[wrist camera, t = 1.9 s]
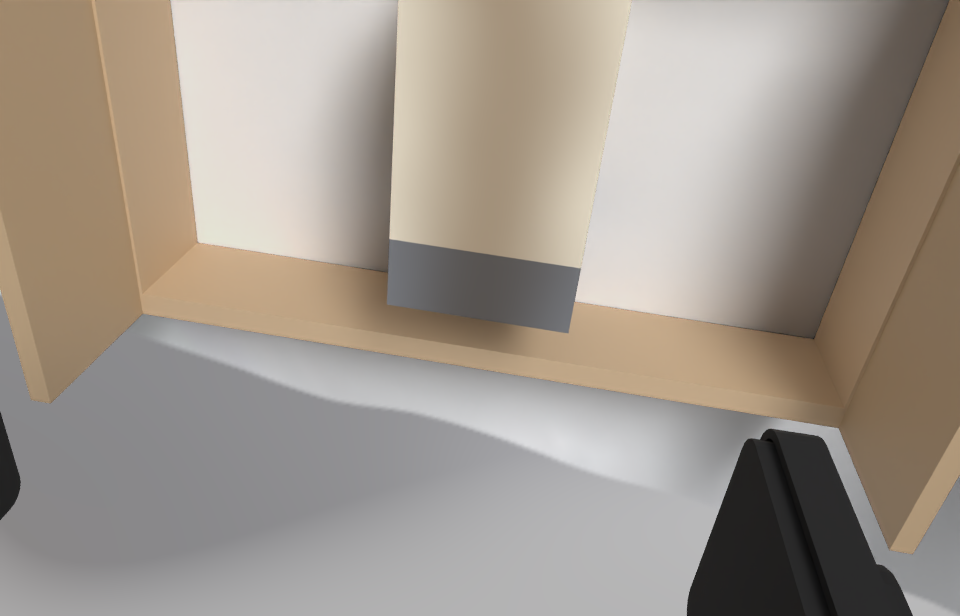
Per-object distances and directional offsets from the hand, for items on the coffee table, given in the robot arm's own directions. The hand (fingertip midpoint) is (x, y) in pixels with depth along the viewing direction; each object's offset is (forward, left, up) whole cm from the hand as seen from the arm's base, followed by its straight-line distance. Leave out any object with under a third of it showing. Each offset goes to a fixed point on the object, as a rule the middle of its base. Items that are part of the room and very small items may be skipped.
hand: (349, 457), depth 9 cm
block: (0, 0, -17) cm, 17 cm away
